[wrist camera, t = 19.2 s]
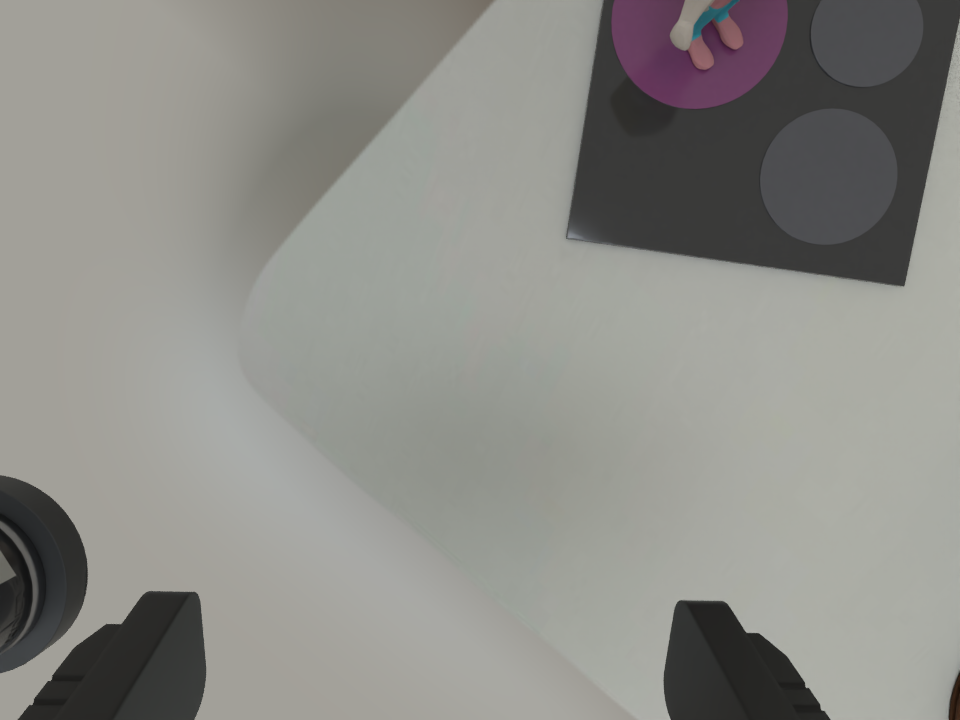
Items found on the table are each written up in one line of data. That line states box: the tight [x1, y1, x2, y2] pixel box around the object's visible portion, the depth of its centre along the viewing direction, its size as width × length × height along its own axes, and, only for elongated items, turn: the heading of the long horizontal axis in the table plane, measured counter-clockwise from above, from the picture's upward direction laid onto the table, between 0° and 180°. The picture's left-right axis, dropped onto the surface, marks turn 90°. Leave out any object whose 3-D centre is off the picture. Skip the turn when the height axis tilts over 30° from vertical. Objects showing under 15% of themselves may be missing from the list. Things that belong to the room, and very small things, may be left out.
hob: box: [566, 0, 960, 286], centre depth 34 cm, size 18×16×1 cm
